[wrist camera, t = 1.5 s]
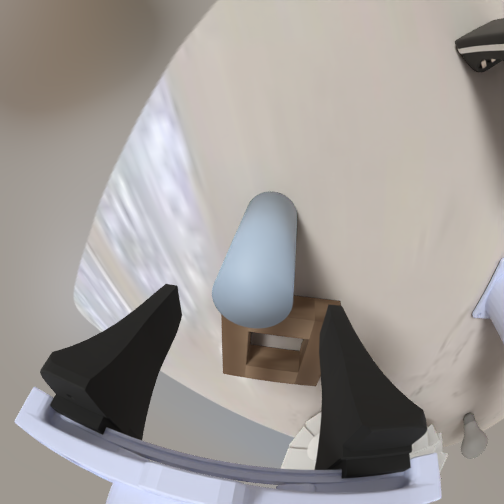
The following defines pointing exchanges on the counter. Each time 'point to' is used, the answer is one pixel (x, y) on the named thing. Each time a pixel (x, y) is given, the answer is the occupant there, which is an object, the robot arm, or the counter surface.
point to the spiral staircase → (308, 438)
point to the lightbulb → (473, 438)
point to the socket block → (274, 359)
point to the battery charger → (483, 46)
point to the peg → (260, 264)
